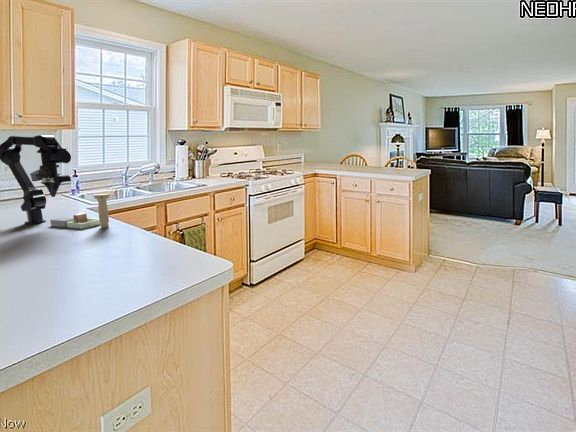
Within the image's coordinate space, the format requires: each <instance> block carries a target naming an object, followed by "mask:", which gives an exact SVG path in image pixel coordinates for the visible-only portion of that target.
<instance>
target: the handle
mask: <svg viewBox="0 0 576 432" xmlns="http://www.w3.org/2000/svg"><path fill="white" fill-rule="evenodd" d="M93 198H94V199H96V200H97V203H98V219H99V220H100V224H101V225H100V228H105V229H106V228H109V225H110V223H109V222H110V221H109V220H110V219H109V210H108V204H107V200H108V198H111V197H110V193H95V194H93Z"/></svg>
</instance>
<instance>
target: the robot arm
mask: <svg viewBox="0 0 576 432" xmlns="http://www.w3.org/2000/svg"><path fill="white" fill-rule="evenodd" d="M14 145H15V146H14ZM22 146H34V147H36V148H39V149H38V150H37V151H36V153H37V154H40V159H41V165H39V169H37V170H35V171H32V172H31V173H29V175H30V177H31V179H30V177H29V175H28V173H27V172H26V170H25V168H24V167H23V165H22V164H21V154H20V153H21V152H22V149H23V147H22ZM71 160H72V155H71V153H70V152H69V151H68V150H67V147H62V146H61V145H60V142H59V141H58V140H57V139H56V137H55V136H54V135H52V134H49V135H48V134H47V135H46V134H42V135H41V134H38V135H34V136H20V135H11V136H9V137H8V138H7V139H6V140H5V141H3V143H1V144H0V161H1V162H2V163H3V164H5V165H6V166H8V167H9V169H10V171H11V173H12V174H13V176H14V178H15V179H16V182H17V184H18V185H19V187H20V188H21V190H22V191H23V195H22V196H23V197H22V199H23V202H22V204H21V206H20V209H21V212H26V218H27V221H24V223H25V224H29V225H34V224H35V225H36V224H40V223H45V222H47V221H46V220H45V219H44V216H43V212H42V211H43V209H44V210H45V209H46V204H47V197H46V195H45V193H44V191H43V190H42V189H41V188H39V189H38V188H36V187H35V185H34V184H33V182H40V184H43V185H44V186H45V188H46V189H47V191H48V192H49V195H50V197H52V198H54V197H56V195H57V192H58V190H59V187H61V184H62V183H66V182H71V181H72V180H71V179H72V178H71V176H70V175H68V174H66V175H65V174H62V175H61V174H60V173H58V168H60V165H59V164H69V163H70V162H71Z"/></svg>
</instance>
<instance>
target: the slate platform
mask: <svg viewBox="0 0 576 432" xmlns="http://www.w3.org/2000/svg"><path fill="white" fill-rule="evenodd" d="M69 221H74V217H69V216H67V217H66V216H62V217H61V216H60V217H57V218H52V219H50V226H51V227H55V228H57V227H58V228H68V227H67V222H69Z"/></svg>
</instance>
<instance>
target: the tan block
mask: <svg viewBox="0 0 576 432" xmlns="http://www.w3.org/2000/svg"><path fill="white" fill-rule="evenodd" d="M72 217H73V218H74V223H86V222H87V218H88V215H87V213H86V212H82V213H76V214H73V216H72Z"/></svg>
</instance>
